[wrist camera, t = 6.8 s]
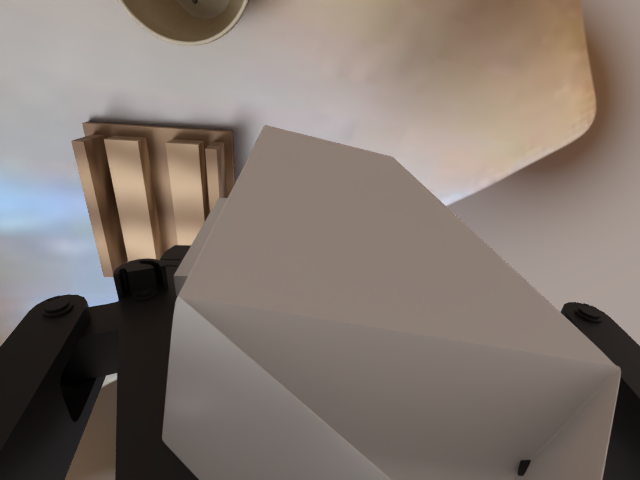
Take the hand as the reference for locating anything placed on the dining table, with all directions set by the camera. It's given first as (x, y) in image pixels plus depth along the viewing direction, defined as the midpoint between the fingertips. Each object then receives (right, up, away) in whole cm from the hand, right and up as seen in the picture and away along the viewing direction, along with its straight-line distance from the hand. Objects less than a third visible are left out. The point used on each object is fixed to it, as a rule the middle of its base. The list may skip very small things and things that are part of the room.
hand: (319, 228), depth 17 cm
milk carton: (0, +2, +4) cm, 4 cm away
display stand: (-16, +4, +22) cm, 27 cm away
